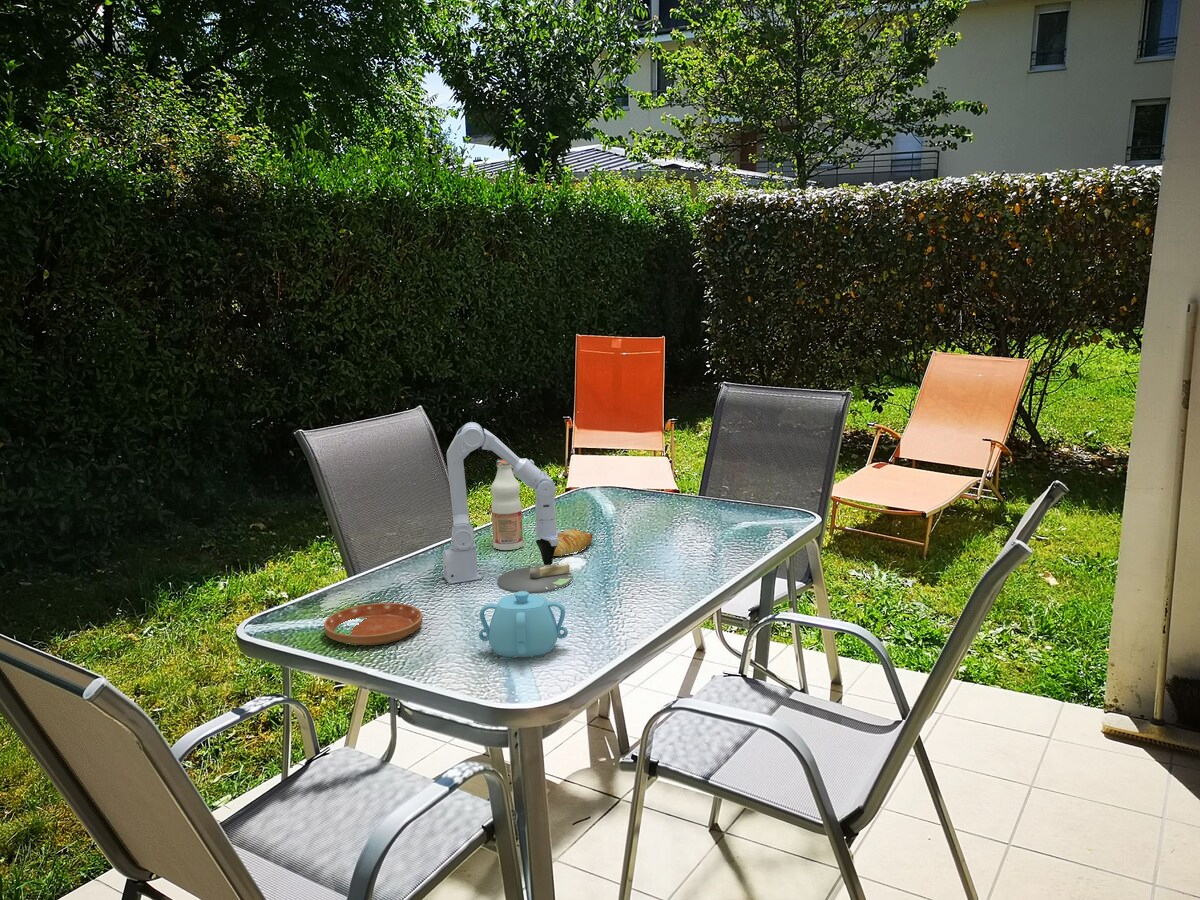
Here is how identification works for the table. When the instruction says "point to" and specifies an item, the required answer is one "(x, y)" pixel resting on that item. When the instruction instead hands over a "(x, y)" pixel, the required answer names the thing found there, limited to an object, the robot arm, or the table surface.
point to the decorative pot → (522, 625)
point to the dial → (532, 581)
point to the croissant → (572, 542)
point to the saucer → (375, 623)
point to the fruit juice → (506, 509)
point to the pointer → (549, 570)
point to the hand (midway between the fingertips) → (547, 564)
